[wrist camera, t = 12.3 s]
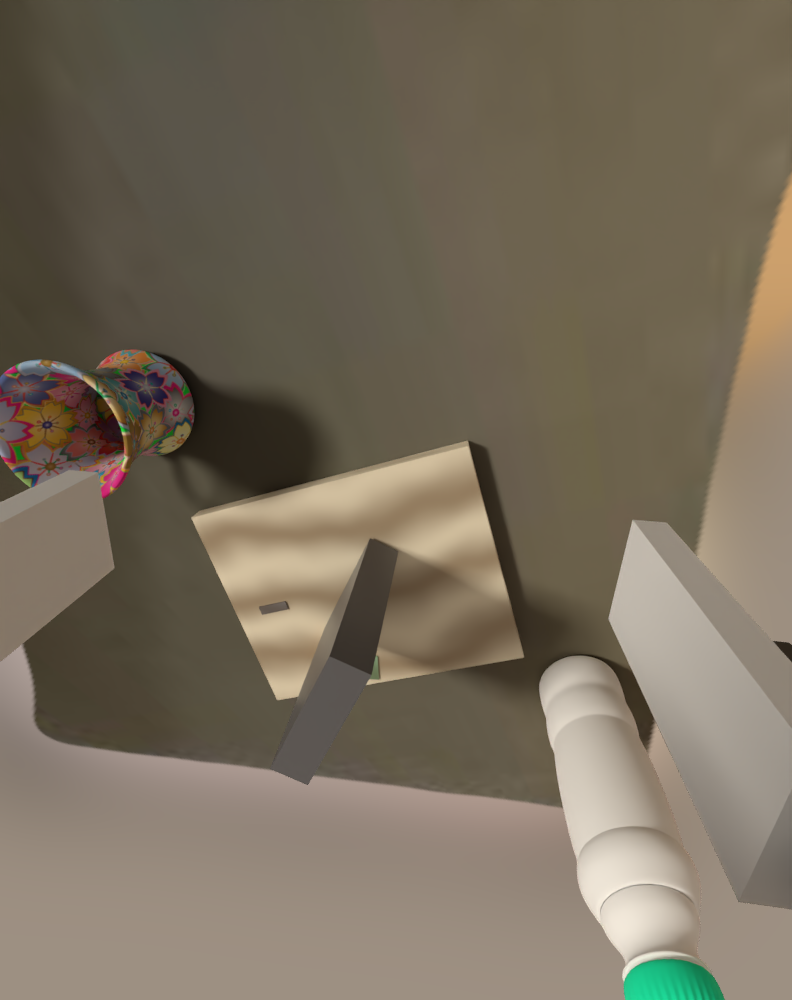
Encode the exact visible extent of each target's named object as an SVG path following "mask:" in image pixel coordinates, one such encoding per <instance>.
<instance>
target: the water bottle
mask: <svg viewBox="0 0 792 1000" xmlns="http://www.w3.org/2000/svg"><path fill="white" fill-rule="evenodd" d="M539 693H540V699H541V703H542V707H543V710H544V713H545V716H546V722H547V731H548V736H549V740H550V744H551V746H552V749H553V751H554V754H555V764H556V772H557V778H558V784H559V789H560V795H561V800H562V804H563V809H564V813H565V818H566V822H567V826H568V831H569V835H570V839H571V842H572V846H573V849H574V853H575V856H576V859H577V878H578V883H579V887H580V891H581V893H582V896H583V898H584V900H585V902H586V904H587V905H588V907H589V909H590V910H591V912H592V913H593V915H594V916H595V917H596V919H597V920H598V922H599V923H600V924H601V925H602V926H603V928H604V931H605V933H606V935H607V936H608V938H609V940H610V941H611V943H612V944H613V945H614V946H615V947H616V948H617V949H618V951H619V952H620V953H621V954H622V956H623V957H624V960H625V963H626V966H625V968H624V970H623V981H624V995H625V1000H725V999H724V997H723V994H722V992H721V990H720V987H719V985H718V983H717V982H716V980H715V978H714V977H713V976H712V973H711V970H710V968H709V967H708V966H707V964H705V963H704V962H703V961H702V960H701V959H700V958H699V956H698V953H697V947H698V942H699V937H700V919H699V915H700V907H701V884H700V879H699V875H698V872H697V869H696V867H695V864H694V862H693V860H692V859H691V857H690V856H689V854H688V852H687V851H686V850H685V849H684V846H683V843H682V840H681V836H680V833H679V830H678V827H677V824H676V821H675V818H674V815H673V813H672V810H671V808H670V805H669V802H668V800H667V797H666V795H665V792H664V790H663V787H662V785H661V783H660V780H659V778H658V775H657V773H656V771H655V769H654V767H653V764H652V762H651V760H650V758H649V756H648V753H647V751H646V749H645V747H644V746H643V744H642V742H641V740H640V738H639V733H638V728H637V725H636V722H635V720H634V717H633V715H632V713H631V711H630V709H629V707H628V706H627V704H626V701H625V697H624V694H623V690H622V688H621V685H620V682H619V680H618V678H617V676H616V674H615V672H614V671H613V670H612V669H611V668H610V667H609V666H608V665H607V664H606V663H604V662H603V661H601V660H599V659H596V658H593V657H589V656H569V657H565V658H562V659H560V660H558V661H556V662H554V663H553V664H552V665H550V666H549V667H548V668H547V669H546V670H545V672H544V673H543V675H542V677H541V680H540V683H539Z"/></svg>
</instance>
